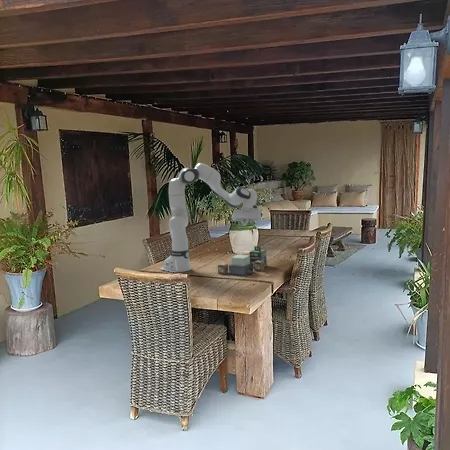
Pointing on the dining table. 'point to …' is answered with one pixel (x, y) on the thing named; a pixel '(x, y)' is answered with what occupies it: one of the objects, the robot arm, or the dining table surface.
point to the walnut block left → (223, 269)
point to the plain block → (240, 260)
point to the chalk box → (258, 256)
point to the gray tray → (241, 269)
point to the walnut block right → (258, 265)
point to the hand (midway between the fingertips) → (244, 225)
